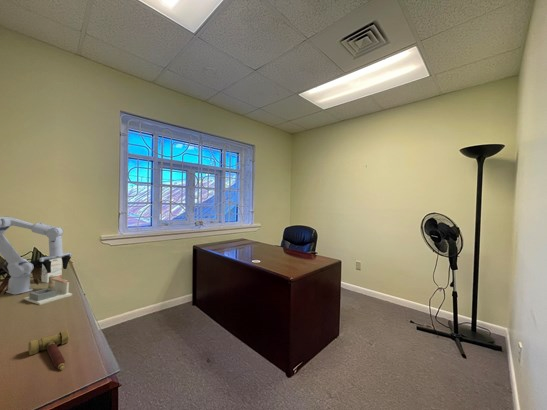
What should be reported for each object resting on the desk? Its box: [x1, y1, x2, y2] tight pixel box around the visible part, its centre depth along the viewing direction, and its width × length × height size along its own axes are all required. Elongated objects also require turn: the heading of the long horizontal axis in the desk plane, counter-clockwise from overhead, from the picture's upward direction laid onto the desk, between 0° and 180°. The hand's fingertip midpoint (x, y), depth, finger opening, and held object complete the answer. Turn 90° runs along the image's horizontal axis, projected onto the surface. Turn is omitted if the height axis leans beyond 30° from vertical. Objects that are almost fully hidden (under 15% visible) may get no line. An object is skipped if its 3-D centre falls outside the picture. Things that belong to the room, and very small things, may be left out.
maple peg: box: [47, 276, 58, 290], centre depth 138 cm, size 4×4×7 cm
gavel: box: [27, 329, 70, 371], centre depth 79 cm, size 21×5×10 cm
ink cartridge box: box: [41, 257, 63, 284], centre depth 152 cm, size 9×5×15 cm, turn 168°
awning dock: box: [23, 277, 73, 306], centre depth 126 cm, size 14×14×8 cm
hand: (57, 270), depth 138 cm, fingers open, 7 cm apart
